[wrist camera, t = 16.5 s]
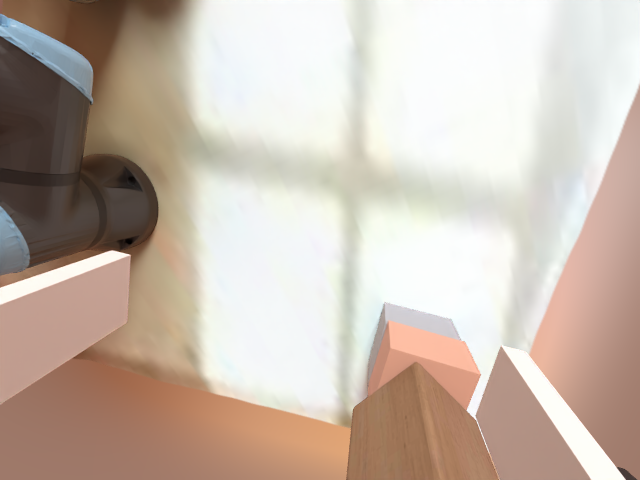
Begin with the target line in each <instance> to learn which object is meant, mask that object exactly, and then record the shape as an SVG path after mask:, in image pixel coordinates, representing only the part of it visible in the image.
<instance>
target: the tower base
mask: <svg viewBox="0 0 640 480" xmlns="http://www.w3.org/2000/svg"><path fill="white" fill-rule="evenodd" d="M388 320H390V321H394V322H397V323H401V324H404V325H408V326H411V327H415V328H418V329H422V330H425V331H429V332H432V333H436V334H439V335H443V336H446V337H450V338H453V339H457V340H460V341H461V339H460V337H459V335H458V333H457V330H456V328H455V326H454V324H453V322H452V320H451V319H448V318H444V317H440V316H436V315H432V314H428V313H424V312H420V311H416V310H413V309H409V308H405V307H401V306H397V305H393V304H389V303H385V302H384V306H383V310H382V313H381V317H380V321H379V324H378V328H377V332H376V335H375V339H374V342H373V346H372V350H371V353H370V357H369V369H368V385H369V381H370V377H371V374H372V371H373V368H374V365H375V361H376V358H377V355H378V352H379V349H380V345H381V342H382V339H383V336H384V333H385V329H386V326H387V323H388Z"/></svg>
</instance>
